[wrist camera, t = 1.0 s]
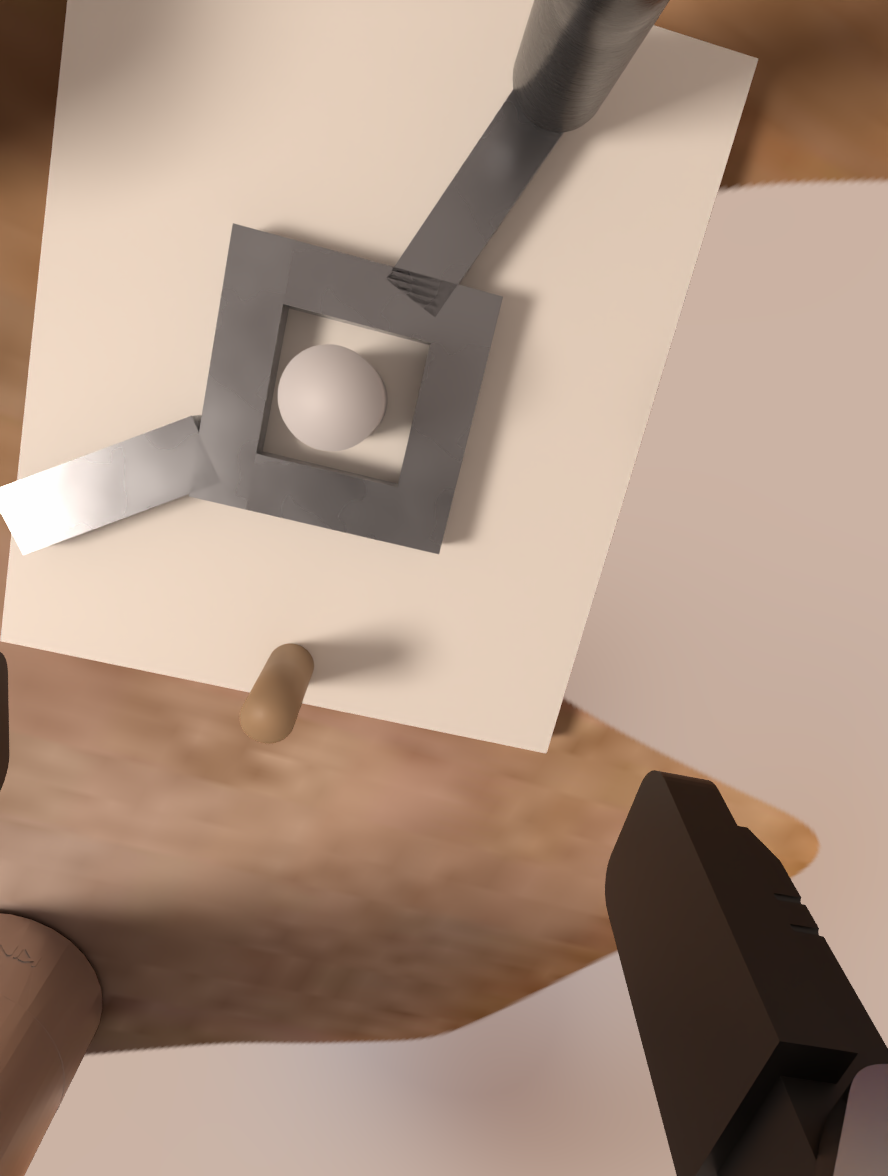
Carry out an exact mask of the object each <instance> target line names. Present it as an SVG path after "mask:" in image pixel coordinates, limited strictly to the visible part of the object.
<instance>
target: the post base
mask: <svg viewBox="0 0 888 1176" xmlns="http://www.w3.org/2000/svg"><path fill="white" fill-rule="evenodd" d="M533 2H534V0H67V9H66V18H65V28H64V37H63V47H62V57H61V66H60V76H59V85H58V95H57V104H56V114H55V123H54V133H53V143H52V152H51V162H50V171H49V181H48V190H47V200H46V210H45V219H44V229H43V238H42V248H41V257H40V267H39V277H38V286H37V296H36V305H35V315H34V324H33V334H32V344H31V353H30V363H29V372H28V382H27V391H26V401H25V411H24V420H23V430H22V439H21V449H20V458H19V468H18V478H17V481H18V480H21V479H24V478H26V477H29V476H32V475H34V474H37V473H40V472H42V471H45V470H48V469H50V468H53V467H56V466H58V465H61V464H64V463H66V462H69V461H72V460H74V459H77V458H80V457H82V456H85V455H88V454H90V453H93V452H96V451H98V450H101V449H104V448H106V447H109V446H112V445H114V444H117V443H120V442H123V441H125V440H128V439H131V438H133V437H136V436H139V435H141V434H144V433H147V432H149V431H152V430H155V429H157V428H160V427H163V426H165V425H168V424H171V423H173V422H176V421H179V420H181V419H184V418H187V417H189V416H194V415H201V416H202V411H203V405H204V398H205V392H206V386H207V380H208V374H209V367H210V361H211V355H212V349H213V343H214V336H215V330H216V324H217V318H218V312H219V306H220V299H221V293H222V287H223V281H224V275H225V268H226V262H227V256H228V250H229V244H230V237H231V231H232V225H233V223H234V224H238V225H242V226H245V227H249V228H253V229H256V230H260V231H264V232H267V233H271V234H275V235H278V236H282V237H286V238H289V239H293V240H297V241H300V242H304V243H308V244H311V245H315V246H319V247H322V248H326V249H330V250H333V251H337V252H341V253H344V254H348V255H352V256H356V257H359V258H363V259H367V260H370V261H374V262H378V263H381V264H385V265H389V266H392V267H394V266H395V265H396V263H397V262H398V260H399V259H400V257H401V256H402V254H403V253H404V251H405V250H406V248H407V247H408V245H409V244H410V242H411V241H412V239H413V238H414V236H415V235H416V233H417V232H418V230H419V229H420V227H421V226H422V224H423V223H424V221H425V220H426V218H427V217H428V215H429V214H430V213H431V211H432V210H433V208H434V207H435V205H436V204H437V202H438V201H439V199H440V198H441V196H442V195H443V193H444V192H445V190H446V189H447V187H448V186H449V184H450V183H451V181H452V180H453V178H454V177H455V175H456V174H457V172H458V171H459V169H460V168H461V166H462V165H463V163H464V162H465V160H466V159H467V157H468V156H469V154H470V153H471V151H472V150H473V148H474V147H475V145H476V144H477V142H478V141H479V139H480V138H481V136H482V135H483V134H484V132H485V131H486V129H487V128H488V126H489V125H490V123H491V122H492V120H493V119H494V117H495V116H496V114H497V113H498V111H499V110H500V108H501V107H502V105H503V104H504V102H505V101H506V99H507V98H508V96H509V95H510V93H511V92H512V90H513V68H514V63H515V60H516V57H517V54H518V50H519V47H520V44H521V41H522V37H523V34H524V31H525V28H526V25H527V21H528V18H529V15H530V12H531V9H532V5H533ZM757 62H758V58H755V57H752V56H749V55H746V54H742V53H739V52H736V51H733V50H730V49H727V48H724V47H721V46H717V45H714V44H711V43H708V42H705V41H702V40H699V39H695V38H692V37H689V36H686V35H683V34H680V33H677V32H673V31H670V30H667V29H664V28H661V27H658V26H655V25H653V27H652V28H651V30H650V31H649V33H648V34H647V36H646V37H645V39H644V40H643V42H642V44H641V45H640V47H639V48H638V50H637V51H636V53H635V54H634V56H633V57H632V59H631V60H630V62H629V63H628V65H627V67H626V68H625V70H624V71H623V73H622V74H621V76H620V77H619V79H618V80H617V82H616V83H615V85H614V86H613V88H612V90H611V91H610V93H609V94H608V96H607V97H606V99H605V100H604V102H603V103H602V105H601V106H600V108H599V110H598V111H597V112H596V114H595V115H594V116H593V117H592V118H591V119H590V120H589V121H588V122H587V123H585V124H584V125H583V126H581V127H579V128H577V129H575V130H572V131H568V132H565V133H564V134H563V135H562V137H561V138H560V140H559V141H558V143H557V144H556V146H555V147H554V148H553V150H552V151H551V153H550V154H549V156H548V157H547V159H546V160H545V161H544V163H543V164H542V166H541V167H540V169H539V170H538V172H537V173H536V174H535V176H534V177H533V179H532V180H531V182H530V183H529V185H528V186H527V187H526V189H525V190H524V192H523V193H522V195H521V196H520V198H519V199H518V200H517V202H516V203H515V205H514V206H513V208H512V209H511V211H510V212H509V213H508V215H507V216H506V218H505V219H504V221H503V222H502V224H501V225H500V226H499V228H498V229H497V231H496V232H495V234H494V235H493V237H492V238H491V239H490V241H489V242H488V244H487V245H486V247H485V248H484V250H483V251H482V252H481V254H480V255H479V257H478V258H477V260H476V261H475V263H474V264H473V265H472V267H471V268H470V270H469V271H468V273H467V274H466V276H465V277H464V278H463V280H462V281H461V283H460V284H459V285H462V286H466V287H470V288H473V289H477V290H481V291H484V292H488V293H492V294H495V295H499V296H503V299H502V303H501V307H500V311H499V315H498V319H497V323H496V327H495V331H494V336H493V340H492V344H491V348H490V352H489V356H488V360H487V364H486V368H485V372H484V376H483V380H482V384H481V388H480V392H479V396H478V400H477V404H476V408H475V412H474V416H473V420H472V424H471V428H470V432H469V436H468V440H467V444H466V448H465V452H464V456H463V460H462V464H461V468H460V472H459V476H458V480H457V484H456V488H455V492H454V496H453V500H452V504H451V508H450V512H449V516H448V520H447V524H446V528H445V532H444V536H443V541H442V545H441V549H440V553H439V554H435V553H431V552H426V551H422V550H418V549H413V548H409V547H405V546H400V545H396V544H392V543H387V542H383V541H379V540H375V539H370V538H366V537H362V536H357V535H353V534H349V533H344V532H340V531H336V530H331V529H327V528H323V527H318V526H314V525H310V524H306V523H301V522H297V521H293V520H288V519H284V518H280V517H275V516H271V515H267V514H262V513H258V512H254V511H249V510H245V509H241V508H236V507H232V506H228V505H224V504H219V503H215V502H211V501H206V500H202V499H198V498H193V497H189V494H188V495H185V496H182V497H180V498H177V499H174V500H172V501H169V502H166V503H164V504H161V505H158V506H155V507H153V508H150V509H147V510H145V511H142V512H139V513H136V514H134V515H131V516H128V517H126V518H123V519H120V520H118V521H115V522H112V523H109V524H107V525H104V526H101V527H99V528H96V529H93V530H90V531H88V532H85V533H82V534H80V535H77V536H74V537H72V538H69V539H66V540H63V541H61V542H58V543H55V544H53V545H50V546H47V547H44V548H42V549H39V550H36V551H34V552H31V553H28V554H26V555H23V554H22V552H21V550H20V548H19V546H18V545H17V543H16V541H15V539H14V537H13V535H11V544H10V554H9V564H8V573H7V583H6V592H5V602H4V611H3V621H2V631H1V640H0V641H3V642H8V643H12V644H17V645H22V646H27V647H32V648H37V649H41V650H46V651H51V652H56V653H61V654H66V655H71V656H75V657H80V658H85V659H90V660H95V661H100V662H105V663H109V664H114V665H119V666H124V667H129V668H134V669H139V670H143V671H148V672H153V673H158V674H163V675H168V676H173V677H177V678H182V679H187V680H192V681H197V682H202V683H207V684H211V685H216V686H221V687H226V688H231V689H236V690H241V691H245V692H250V693H249V695H248V697H247V699H246V701H245V702H244V704H243V706H242V708H241V711H240V724H241V727H242V729H243V731H244V732H245V733H246V734H247V735H248V736H249V737H250V738H251V739H253V740H255V741H257V742H260V743H265V744H271V743H277V742H279V741H281V740H283V739H285V738H286V737H287V736H288V735H289V734H290V733H291V731H292V729H293V727H294V724H295V721H296V719H297V716H298V713H299V710H300V707H301V704H302V703H304V704H308V705H313V706H318V707H323V708H328V709H333V710H338V711H342V712H347V713H352V714H357V715H362V716H367V717H372V718H376V719H381V720H386V721H391V722H396V723H401V724H406V725H410V726H415V727H420V728H425V729H430V730H435V731H440V732H444V733H449V734H454V735H459V736H464V737H469V738H474V739H478V740H483V741H488V742H493V743H498V744H503V745H508V746H512V747H517V748H522V749H527V750H532V751H537V752H542V753H547V750H548V747H549V743H550V740H551V737H552V734H553V730H554V727H555V724H556V720H557V717H558V714H559V711H560V707H561V704H562V701H563V697H564V694H565V691H566V688H567V684H568V681H569V678H570V675H571V671H572V668H573V665H574V661H575V658H576V655H577V652H578V648H579V645H580V642H581V638H582V635H583V632H584V628H585V625H586V622H587V619H588V616H589V612H590V609H591V606H592V602H593V599H594V596H595V593H596V589H597V586H598V583H599V579H600V576H601V573H602V569H603V566H604V563H605V560H606V557H607V553H608V550H609V547H610V543H611V540H612V537H613V534H614V530H615V527H616V524H617V521H618V517H619V514H620V511H621V507H622V504H623V501H624V498H625V494H626V491H627V488H628V484H629V481H630V478H631V474H632V471H633V468H634V465H635V461H636V458H637V455H638V452H639V448H640V445H641V442H642V438H643V435H644V432H645V429H646V425H647V422H648V419H649V416H650V412H651V409H652V406H653V402H654V399H655V396H656V393H657V390H658V386H659V383H660V380H661V376H662V373H663V370H664V367H665V363H666V360H667V356H668V353H669V350H670V347H671V344H672V340H673V337H674V334H675V331H676V327H677V324H678V321H679V317H680V314H681V310H682V308H683V304H684V301H685V298H686V294H687V291H688V288H689V284H690V281H691V278H692V275H693V271H694V268H695V265H696V262H697V258H698V255H699V252H700V249H701V245H702V242H703V239H704V235H705V232H706V229H707V226H708V222H709V219H710V216H711V213H712V209H713V206H714V203H715V199H716V196H717V193H718V190H719V186H720V183H721V180H722V177H723V173H724V170H725V167H726V163H727V160H728V157H729V154H730V150H731V147H732V144H733V141H734V137H735V134H736V131H737V127H738V124H739V121H740V118H741V114H742V111H743V108H744V104H745V101H746V98H747V95H748V91H749V88H750V85H751V82H752V78H753V75H754V72H755V68H756V65H757ZM429 346H430V345H427V344H423V343H419V342H415V341H412V340H408V339H404V338H400V337H396V336H392V335H389V334H385V333H381V332H377V331H373V330H370V329H366V328H362V327H358V326H354V325H350V324H347V323H343V322H339V321H335V320H331V319H328V318H324V317H320V316H316V315H312V314H308V313H305V312H301V311H297V310H293V309H289V311H288V316H287V322H286V327H285V333H284V338H283V344H282V349H281V355H280V360H279V366H278V371H277V376H276V382H275V387H274V393H273V398H272V404H271V409H270V415H269V420H268V426H267V431H266V436H265V442H264V447H263V451H264V452H268V453H272V454H276V455H281V456H285V457H289V458H293V459H297V460H301V461H305V462H310V463H314V464H318V465H322V466H326V467H330V468H335V469H339V470H343V471H347V472H351V473H355V474H359V475H364V476H368V477H372V478H376V479H380V480H384V481H389V482H393V483H397V484H398V481H399V477H400V473H401V468H402V464H403V460H404V455H405V451H406V446H407V442H408V438H409V433H410V429H411V425H412V420H413V416H414V412H415V407H416V403H417V399H418V394H419V390H420V385H421V381H422V377H423V372H424V368H425V364H426V359H427V355H428V351H429Z"/></svg>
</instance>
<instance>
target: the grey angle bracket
mask: <svg viewBox="0 0 888 1176" xmlns="http://www.w3.org/2000/svg"><path fill="white" fill-rule="evenodd" d="M669 1H670V0H534V2H533V5H532V9H531V12H530V15H529V18H528V21H527V25H526V28H525V31H524V34H523V37H522V41H521V44H520V47H519V50H518V54H517V57H516V60H515V63H514V68H513V90H512V92H511V93H510V95H509V96H508V98H507V99H506V101H505V102H504V104H503V105H502V107H501V108H500V110H499V111H498V113H497V114H496V116H495V117H494V119H493V120H492V122H491V123H490V125H489V126H488V128H487V129H486V131H485V132H484V134H483V135H482V136H481V138H480V139H479V141H478V142H477V144H476V145H475V147H474V148H473V150H472V151H471V153H470V154H469V156H468V157H467V159H466V160H465V162H464V163H463V165H462V166H461V168H460V169H459V171H458V172H457V174H456V175H455V177H454V178H453V180H452V181H451V183H450V184H449V186H448V187H447V189H446V190H445V192H444V193H443V195H442V196H441V198H440V199H439V201H438V202H437V204H436V205H435V207H434V208H433V210H432V211H431V213H430V214H429V215H428V217H427V218H426V220H425V221H424V223H423V224H422V226H421V227H420V229H419V230H418V232H417V233H416V235H415V236H414V238H413V239H412V241H411V242H410V244H409V245H408V247H407V248H406V250H405V251H404V253H403V254H402V256H401V257H400V259H399V260H398V262H397V263H396V265H395V266H394V267H392V266H389V265H385V264H381V263H378V262H374V261H370V260H367V259H363V258H359V257H356V256H352V255H348V254H344V253H341V252H337V251H333V250H330V249H326V248H322V247H319V246H315V245H311V244H308V243H304V242H300V241H297V240H293V239H289V238H286V237H282V236H278V235H275V234H271V233H267V232H264V231H260V230H256V229H253V228H249V227H245V226H242V225H238V224H234V223H233V225H232V231H231V237H230V244H229V250H228V256H227V262H226V268H225V275H224V281H223V287H222V293H221V299H220V306H219V312H218V318H217V324H216V330H215V336H214V343H213V349H212V355H211V361H210V367H209V374H208V380H207V386H206V392H205V398H204V405H203V411H202V416H201V415H194V416H189V417H187V418H184V419H181V420H179V421H176V422H173V423H171V424H168V425H165V426H163V427H160V428H157V429H155V430H152V431H149V432H147V433H144V434H141V435H139V436H136V437H133V438H131V439H128V440H125V441H123V442H120V443H117V444H114V445H112V446H109V447H106V448H104V449H101V450H98V451H96V452H93V453H90V454H88V455H85V456H82V457H80V458H77V459H74V460H72V461H69V462H66V463H64V464H61V465H58V466H56V467H53V468H50V469H48V470H45V471H42V472H40V473H37V474H34V475H32V476H29V477H26V478H24V479H21V480H18V481H16V482H13V483H10V484H8V485H5V486H2V487H0V512H1V514H2V516H3V518H4V520H5V522H6V524H7V525H8V527H9V529H10V531H11V533H12V535H13V537H14V539H15V541H16V543H17V545H18V546H19V548H20V550H21V552H22V554H23V555H26V554H28V553H31V552H34V551H36V550H39V549H42V548H44V547H47V546H50V545H53V544H55V543H58V542H61V541H63V540H66V539H69V538H72V537H74V536H77V535H80V534H82V533H85V532H88V531H90V530H93V529H96V528H99V527H101V526H104V525H107V524H109V523H112V522H115V521H118V520H120V519H123V518H126V517H128V516H131V515H134V514H136V513H139V512H142V511H145V510H147V509H150V508H153V507H155V506H158V505H161V504H164V503H166V502H169V501H172V500H174V499H177V498H180V497H182V496H185V495H188V494H189V497H193V498H198V499H202V500H206V501H211V502H215V503H219V504H224V505H228V506H232V507H236V508H241V509H245V510H249V511H254V512H258V513H262V514H267V515H271V516H275V517H280V518H284V519H288V520H293V521H297V522H301V523H306V524H310V525H314V526H318V527H323V528H327V529H331V530H336V531H340V532H344V533H349V534H353V535H357V536H362V537H366V538H370V539H375V540H379V541H383V542H387V543H392V544H396V545H400V546H405V547H409V548H413V549H418V550H422V551H426V552H431V553H435V554H439V553H440V549H441V545H442V541H443V536H444V532H445V528H446V524H447V520H448V516H449V512H450V508H451V504H452V500H453V496H454V492H455V488H456V484H457V480H458V476H459V472H460V468H461V464H462V460H463V456H464V452H465V448H466V444H467V440H468V436H469V432H470V428H471V424H472V420H473V416H474V412H475V408H476V404H477V400H478V396H479V392H480V388H481V384H482V380H483V376H484V372H485V368H486V364H487V360H488V356H489V352H490V348H491V344H492V340H493V336H494V331H495V327H496V323H497V319H498V315H499V311H500V307H501V303H502V299H503V296H499V295H495V294H492V293H488V292H484V291H481V290H477V289H473V288H470V287H466V286H462V285H459V284H460V283H461V281H462V280H463V278H464V277H465V276H466V274H467V273H468V271H469V270H470V268H471V267H472V265H473V264H474V263H475V261H476V260H477V258H478V257H479V255H480V254H481V252H482V251H483V250H484V248H485V247H486V245H487V244H488V242H489V241H490V239H491V238H492V237H493V235H494V234H495V232H496V231H497V229H498V228H499V226H500V225H501V224H502V222H503V221H504V219H505V218H506V216H507V215H508V213H509V212H510V211H511V209H512V208H513V206H514V205H515V203H516V202H517V200H518V199H519V198H520V196H521V195H522V193H523V192H524V190H525V189H526V187H527V186H528V185H529V183H530V182H531V180H532V179H533V177H534V176H535V174H536V173H537V172H538V170H539V169H540V167H541V166H542V164H543V163H544V161H545V160H546V159H547V157H548V156H549V154H550V153H551V151H552V150H553V148H554V147H555V146H556V144H557V143H558V141H559V140H560V138H561V137H562V135H563V134H564V133H565V132H568V131H572V130H575V129H577V128H579V127H581V126H583V125H584V124H585V123H587V122H588V121H589V120H590V119H591V118H592V117H593V116H594V115H595V114H596V112H597V111H598V110H599V108H600V106H601V105H602V103H603V102H604V100H605V99H606V97H607V96H608V94H609V93H610V91H611V90H612V88H613V86H614V85H615V83H616V82H617V80H618V79H619V77H620V76H621V74H622V73H623V71H624V70H625V68H626V67H627V65H628V63H629V62H630V60H631V59H632V57H633V56H634V54H635V53H636V51H637V50H638V48H639V47H640V45H641V44H642V42H643V40H644V39H645V37H646V36H647V34H648V33H649V31H650V30H651V28H652V27H653V25H654V24H655V22H656V20H657V19H658V17H659V16H660V14H661V13H662V11H663V10H664V8H665V7H666V5H667V4H668V2H669ZM289 309H293V310H297V311H301V312H305V313H308V314H312V315H316V316H320V317H324V318H328V319H331V320H335V321H339V322H343V323H347V324H350V325H354V326H358V327H362V328H366V329H370V330H373V331H377V332H381V333H385V334H389V335H392V336H396V337H400V338H404V339H408V340H412V341H415V342H419V343H423V344H427V345H430V346H429V351H428V355H427V359H426V364H425V368H424V372H423V377H422V381H421V385H420V390H419V394H418V399H417V403H416V407H415V412H414V416H413V420H412V425H411V429H410V433H409V438H408V442H407V446H406V451H405V455H404V460H403V464H402V468H401V473H400V477H399V481H398V484H397V483H393V482H389V481H384V480H380V479H376V478H372V477H368V476H364V475H359V474H355V473H351V472H347V471H343V470H339V469H335V468H330V467H326V466H322V465H318V464H314V463H310V462H305V461H301V460H297V459H293V458H289V457H285V456H281V455H276V454H272V453H268V452H264V451H263V447H264V442H265V436H266V431H267V426H268V420H269V415H270V409H271V404H272V398H273V393H274V387H275V382H276V376H277V371H278V366H279V360H280V355H281V349H282V344H283V338H284V333H285V327H286V322H287V316H288V311H289Z"/></svg>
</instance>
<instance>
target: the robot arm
mask: <svg viewBox="0 0 888 1176" xmlns="http://www.w3.org/2000/svg"><path fill="white" fill-rule="evenodd" d="M8 763H9V713H8V668H7V662H6V659H5V657H4V655H3V654H2V653H1V652H0V790H1V788H2V785H3V783H4V780H5V777H6V773H7V769H8ZM605 898H606V906H607V911H608V915H609V919H610V923H611V926H612V930H613V934H614V938H615V942H616V945H617V949H618V953H619V956H620V960H621V964H622V968H623V972H624V975H625V980H626V983H627V987H628V991H629V995H630V999H631V1002H632V1006H633V1010H634V1014H635V1018H636V1021H637V1025H638V1029H639V1033H640V1037H641V1041H642V1045H643V1048H644V1052H645V1056H646V1060H647V1064H648V1067H649V1071H650V1075H651V1079H652V1082H653V1086H654V1090H655V1094H656V1098H657V1101H658V1105H659V1109H660V1113H661V1117H662V1120H663V1125H664V1128H665V1132H666V1136H667V1140H668V1144H669V1147H670V1151H671V1155H672V1159H673V1163H674V1166H675V1170H676V1174H677V1176H888V1048H887V1047H886V1045H885V1043H884V1041H883V1040H882V1038H881V1036H880V1034H879V1033H878V1031H877V1029H876V1027H875V1026H874V1024H873V1022H872V1021H871V1019H870V1017H869V1015H868V1013H867V1012H866V1010H865V1008H864V1006H863V1005H862V1003H861V1001H860V999H859V998H858V996H857V994H856V993H855V991H854V989H853V987H852V986H851V984H850V982H849V980H848V979H847V977H846V975H845V973H844V972H843V970H842V968H841V966H840V965H839V963H838V961H837V959H836V958H835V956H834V954H833V952H832V951H831V949H830V947H829V945H828V944H827V942H826V940H825V938H824V937H822V936H819V935H818V929H819V928H818V926H817V924H816V923H815V921H814V919H813V917H812V916H811V914H810V912H809V910H808V909H807V907H806V905H802V904H801V902H800V899H801V897H800V895H799V893H798V891H797V890H796V888H795V886H794V884H793V883H792V881H791V879H790V877H789V876H788V874H787V872H786V870H785V869H784V867H783V865H782V863H781V862H780V860H779V859H778V858H777V857H776V856H775V855H774V854H773V853H772V852H771V851H770V850H769V849H768V848H767V847H766V846H765V845H764V844H763V843H762V842H761V841H760V840H759V839H758V838H757V837H756V836H755V835H754V834H753V833H752V832H751V831H750V830H749V829H748V828H746V827H741V826H737V824H736V822H735V820H734V818H733V816H732V815H731V813H730V811H729V809H728V807H727V805H726V803H725V801H724V800H723V798H722V796H721V794H720V792H719V790H718V789H717V787H716V785H715V784H714V783H713V782H711V781H709V780H704V779H698V778H693V777H687V776H682V775H677V774H671V773H666V772H660V771H655V770H654V771H651V772H649V773H648V774H647V775H646V776H645V778H644V779H643V781H642V783H641V785H640V787H639V790H638V792H637V795H636V797H635V799H634V802H633V804H632V806H631V809H630V811H629V814H628V816H627V818H626V821H625V823H624V826H623V828H622V830H621V833H620V835H619V837H618V840H617V842H616V845H615V847H614V849H613V852H612V854H611V857H610V860H609V863H608V867H607V872H606V881H605ZM102 1007H103V1004H102V993H101V987H100V984H99V982H98V979H97V976H96V973H95V971H94V969H93V968H92V966H91V965H90V963H89V962H88V960H87V959H86V957H85V956H84V955H83V954H82V952H81V951H80V950H79V949H78V948H77V947H76V946H75V945H74V944H73V943H72V942H71V941H69V940H68V939H66V938H65V937H64V936H62V935H61V934H59V933H58V932H56V931H55V930H53V929H51V928H49V927H47V926H45V925H43V924H40V923H38V922H36V921H34V920H31V919H27V918H23V917H19V916H15V915H11V914H2V913H0V1176H24V1175H25V1173H26V1171H27V1169H28V1167H29V1165H30V1163H31V1161H32V1159H33V1157H34V1155H35V1153H36V1151H37V1149H38V1147H39V1145H40V1143H41V1141H42V1139H43V1137H44V1135H45V1133H46V1131H47V1129H48V1127H49V1125H50V1123H51V1121H52V1119H53V1117H54V1115H55V1113H56V1111H57V1110H58V1108H59V1105H60V1103H61V1102H62V1100H63V1097H64V1096H65V1093H66V1091H67V1089H68V1087H69V1085H70V1083H71V1081H72V1079H73V1077H74V1075H75V1073H76V1071H77V1069H78V1067H79V1065H80V1063H81V1061H82V1059H83V1057H84V1055H85V1053H86V1051H87V1049H88V1047H89V1044H90V1042H91V1040H92V1038H93V1036H94V1034H95V1032H96V1030H97V1028H98V1026H99V1023H100V1019H101V1013H102Z"/></svg>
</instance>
